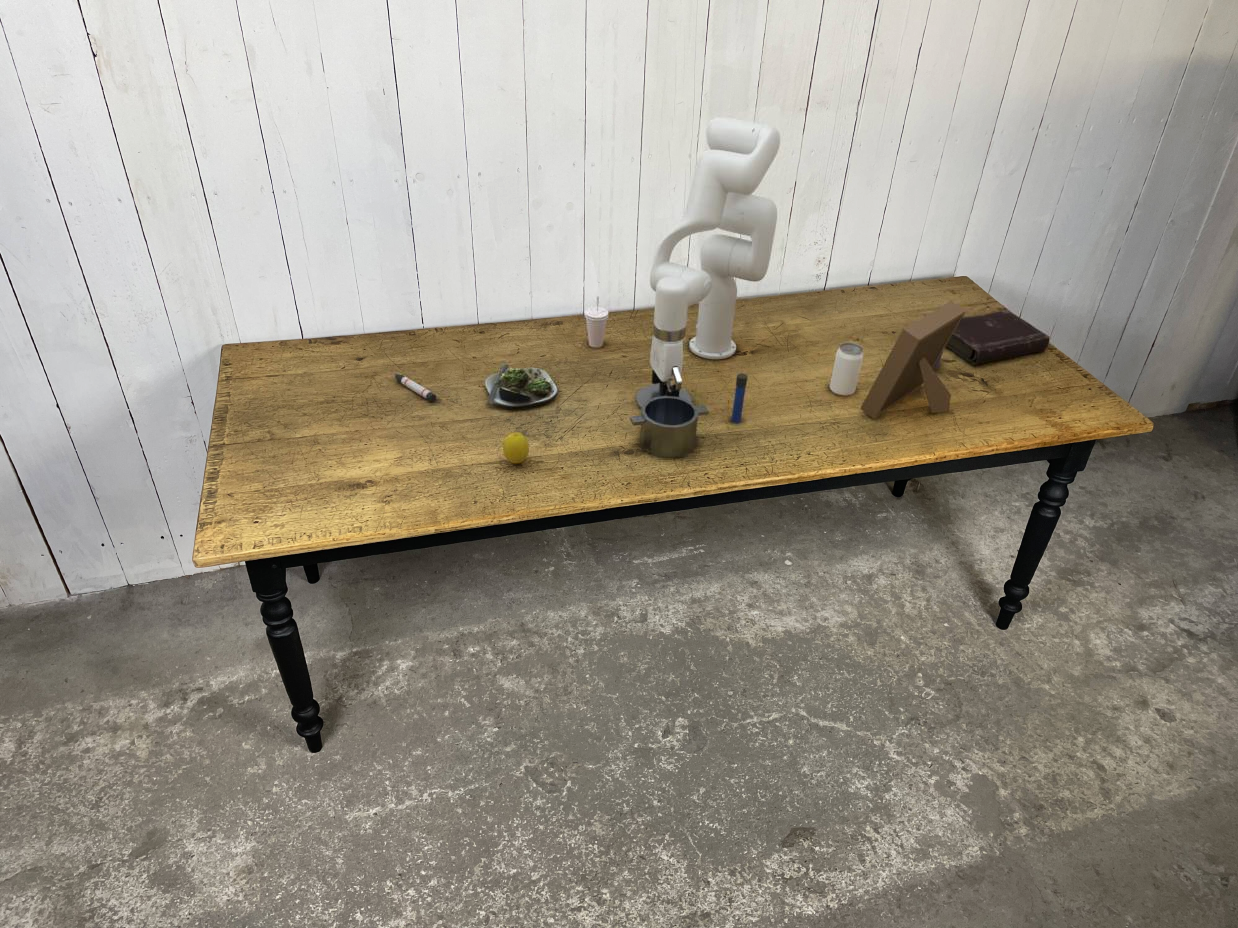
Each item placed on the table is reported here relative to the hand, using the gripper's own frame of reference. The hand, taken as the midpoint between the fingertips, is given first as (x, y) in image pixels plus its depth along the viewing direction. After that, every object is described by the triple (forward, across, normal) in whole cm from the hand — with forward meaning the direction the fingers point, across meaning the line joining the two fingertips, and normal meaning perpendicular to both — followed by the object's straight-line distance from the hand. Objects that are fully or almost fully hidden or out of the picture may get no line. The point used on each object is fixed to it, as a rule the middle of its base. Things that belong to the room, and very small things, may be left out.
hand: (664, 393), depth 210 cm
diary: (+3, -5, +98) cm, 98 cm away
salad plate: (+3, -13, -33) cm, 36 cm away
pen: (+3, +12, +14) cm, 19 cm away
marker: (+3, -21, -58) cm, 62 cm away
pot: (+2, +16, -5) cm, 17 cm away
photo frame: (+3, +18, +58) cm, 61 cm away
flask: (+3, +2, +74) cm, 74 cm away
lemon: (+3, +15, -40) cm, 43 cm away
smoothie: (+3, -32, -8) cm, 33 cm away
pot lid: (+2, 0, 0) cm, 2 cm away
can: (+3, +6, +46) cm, 46 cm away
